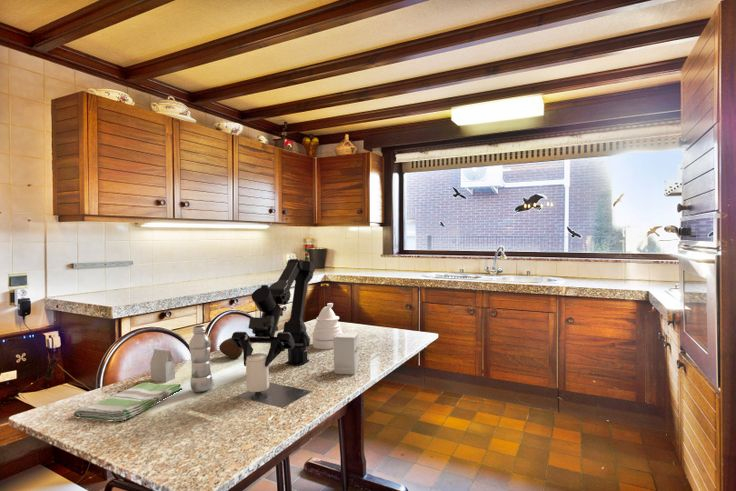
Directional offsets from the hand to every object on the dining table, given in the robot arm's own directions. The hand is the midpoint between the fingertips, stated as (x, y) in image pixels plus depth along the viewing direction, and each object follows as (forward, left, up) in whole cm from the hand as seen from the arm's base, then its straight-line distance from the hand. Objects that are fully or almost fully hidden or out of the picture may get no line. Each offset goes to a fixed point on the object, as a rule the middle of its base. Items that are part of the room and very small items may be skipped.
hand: (255, 365), depth 120 cm
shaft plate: (+5, +3, -9) cm, 11 cm away
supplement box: (+12, +31, -9) cm, 35 cm away
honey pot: (-14, +56, -10) cm, 59 cm away
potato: (-38, +25, -9) cm, 47 cm away
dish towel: (-30, -19, -10) cm, 37 cm away
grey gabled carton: (-40, -3, -10) cm, 42 cm away
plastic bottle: (-19, -4, -9) cm, 22 cm away
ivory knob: (0, +1, -7) cm, 7 cm away
